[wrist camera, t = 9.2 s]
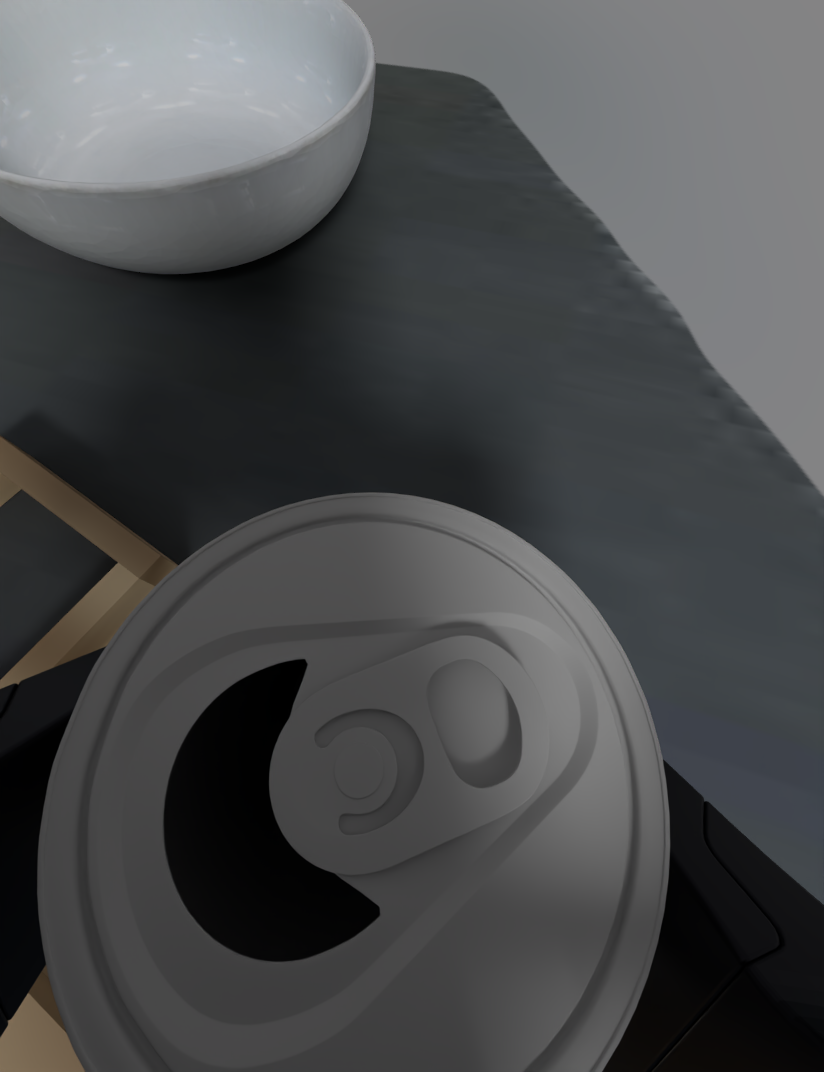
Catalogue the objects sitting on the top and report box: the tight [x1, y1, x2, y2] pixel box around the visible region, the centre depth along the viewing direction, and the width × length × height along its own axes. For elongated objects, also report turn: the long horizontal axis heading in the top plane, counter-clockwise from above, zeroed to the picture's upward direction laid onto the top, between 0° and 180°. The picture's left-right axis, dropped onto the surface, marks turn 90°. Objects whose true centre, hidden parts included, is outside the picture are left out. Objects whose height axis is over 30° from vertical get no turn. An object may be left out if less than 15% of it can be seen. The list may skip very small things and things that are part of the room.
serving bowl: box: [0, 0, 376, 274], centre depth 22 cm, size 21×21×7 cm
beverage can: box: [37, 492, 670, 1072], centre depth 9 cm, size 6×6×12 cm
